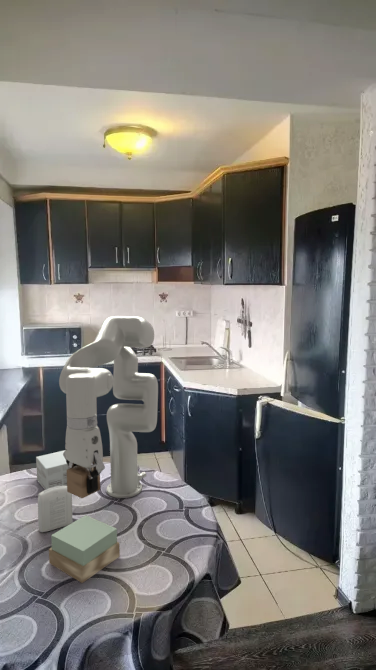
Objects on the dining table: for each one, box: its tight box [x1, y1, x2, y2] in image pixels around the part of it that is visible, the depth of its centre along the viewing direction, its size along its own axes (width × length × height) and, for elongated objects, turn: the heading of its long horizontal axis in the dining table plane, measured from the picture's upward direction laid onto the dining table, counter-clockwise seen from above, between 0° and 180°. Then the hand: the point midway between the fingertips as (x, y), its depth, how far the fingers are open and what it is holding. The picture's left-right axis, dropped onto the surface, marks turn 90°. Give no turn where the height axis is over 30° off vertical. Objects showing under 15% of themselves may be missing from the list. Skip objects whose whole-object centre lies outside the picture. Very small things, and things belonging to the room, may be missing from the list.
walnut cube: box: [67, 465, 101, 499], centre depth 113 cm, size 6×6×6 cm
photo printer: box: [37, 486, 74, 533], centre depth 131 cm, size 10×4×12 cm, turn 123°
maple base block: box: [48, 541, 121, 584], centre depth 116 cm, size 13×13×4 cm
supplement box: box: [35, 450, 68, 491], centre depth 162 cm, size 17×13×9 cm
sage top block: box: [50, 514, 118, 566], centre depth 115 cm, size 12×12×4 cm
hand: (83, 487), depth 113 cm, fingers closed on walnut cube, 6 cm apart
